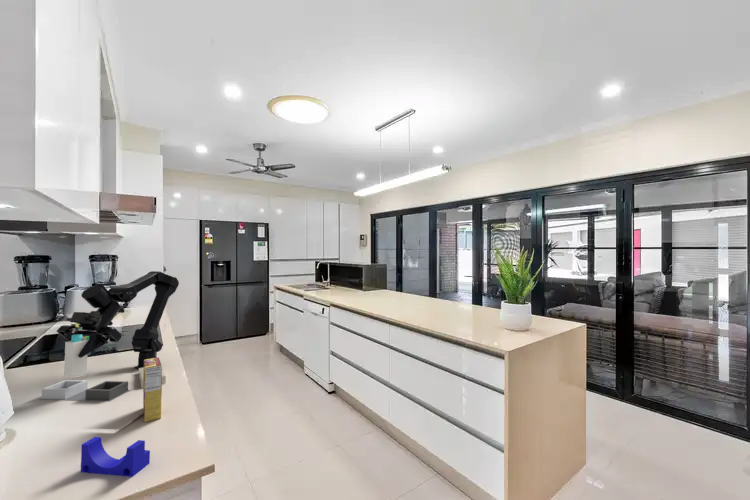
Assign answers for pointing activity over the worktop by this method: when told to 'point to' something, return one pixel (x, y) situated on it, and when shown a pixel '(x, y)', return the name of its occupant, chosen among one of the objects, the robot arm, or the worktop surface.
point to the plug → (75, 357)
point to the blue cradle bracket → (113, 459)
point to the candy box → (152, 389)
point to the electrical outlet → (141, 374)
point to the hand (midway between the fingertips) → (71, 356)
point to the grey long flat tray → (84, 391)
